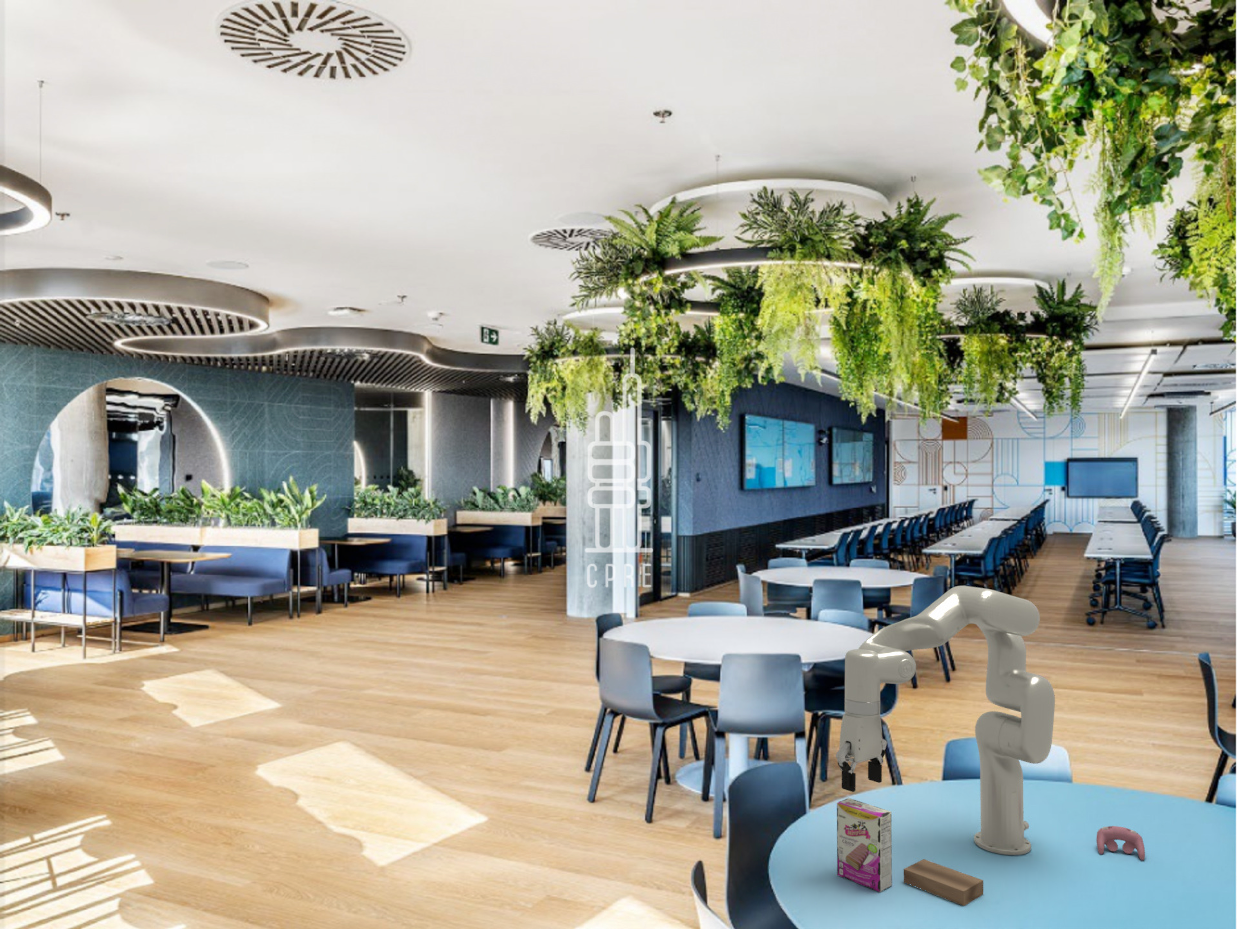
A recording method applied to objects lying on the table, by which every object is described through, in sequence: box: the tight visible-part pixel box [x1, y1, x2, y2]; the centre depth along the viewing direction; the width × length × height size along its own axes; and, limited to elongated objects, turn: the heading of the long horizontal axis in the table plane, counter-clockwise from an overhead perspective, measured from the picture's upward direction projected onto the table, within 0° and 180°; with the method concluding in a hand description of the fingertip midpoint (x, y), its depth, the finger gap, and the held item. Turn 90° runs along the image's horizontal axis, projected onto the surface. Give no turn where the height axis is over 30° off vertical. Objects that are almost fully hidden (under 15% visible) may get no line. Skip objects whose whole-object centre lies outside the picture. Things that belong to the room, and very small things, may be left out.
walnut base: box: [903, 858, 984, 907], centre depth 192 cm, size 8×14×3 cm, turn 40°
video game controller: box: [1095, 825, 1146, 861], centre depth 210 cm, size 10×5×7 cm, turn 66°
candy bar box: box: [836, 797, 893, 893], centre depth 196 cm, size 11×5×16 cm, turn 42°
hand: (861, 785), depth 196 cm, fingers open, 9 cm apart
